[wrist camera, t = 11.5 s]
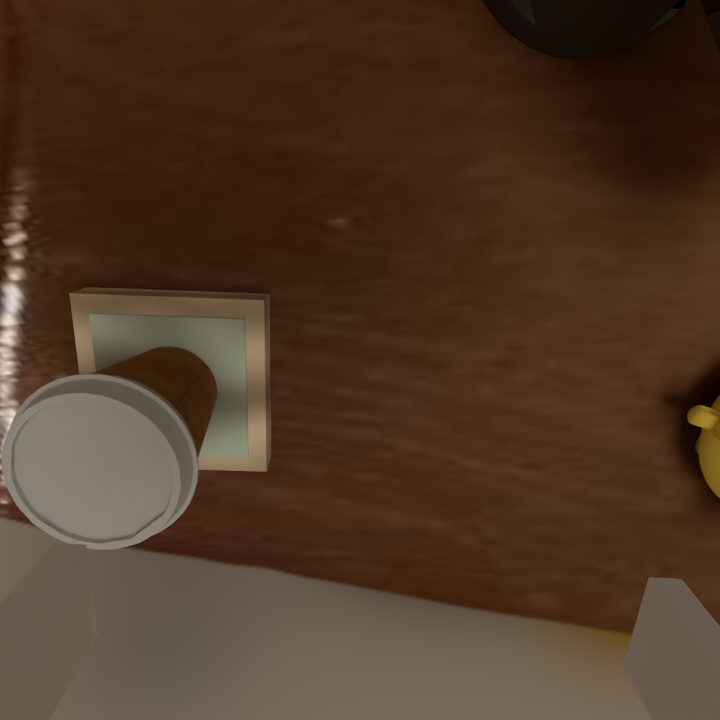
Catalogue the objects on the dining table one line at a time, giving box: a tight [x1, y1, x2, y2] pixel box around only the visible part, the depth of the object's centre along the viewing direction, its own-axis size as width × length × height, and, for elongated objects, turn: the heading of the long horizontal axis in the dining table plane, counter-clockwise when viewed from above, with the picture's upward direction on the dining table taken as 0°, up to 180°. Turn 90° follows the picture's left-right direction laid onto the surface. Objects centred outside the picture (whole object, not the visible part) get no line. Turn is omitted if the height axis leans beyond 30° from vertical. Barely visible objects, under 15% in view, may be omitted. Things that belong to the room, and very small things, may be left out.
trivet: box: [69, 287, 271, 471], centre depth 38 cm, size 13×13×3 cm
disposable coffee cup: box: [2, 346, 217, 550], centre depth 31 cm, size 10×10×12 cm
